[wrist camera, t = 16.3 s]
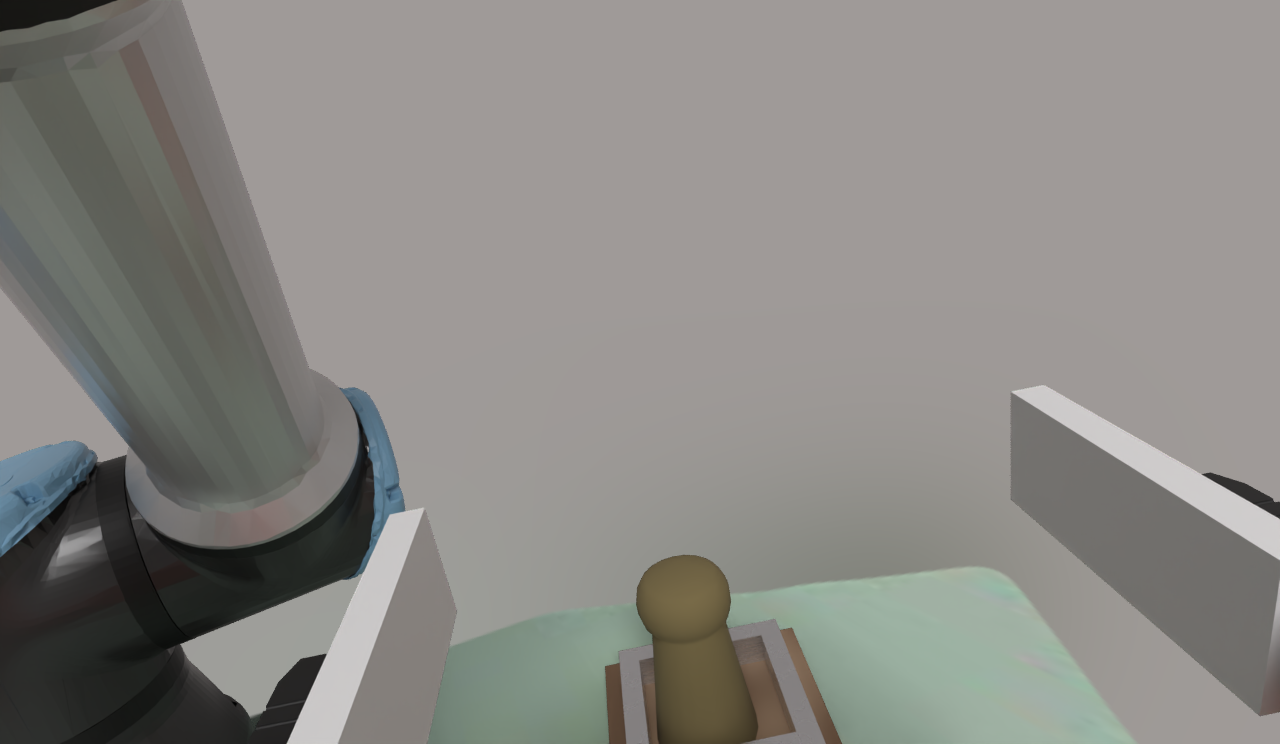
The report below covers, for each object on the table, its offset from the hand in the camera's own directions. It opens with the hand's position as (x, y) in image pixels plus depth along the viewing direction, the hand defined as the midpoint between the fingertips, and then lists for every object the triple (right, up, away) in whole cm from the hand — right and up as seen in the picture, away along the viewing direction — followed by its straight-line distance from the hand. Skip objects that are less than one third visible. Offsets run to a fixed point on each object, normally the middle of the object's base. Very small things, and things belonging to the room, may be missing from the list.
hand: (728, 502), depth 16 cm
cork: (+2, -18, +27) cm, 33 cm away
